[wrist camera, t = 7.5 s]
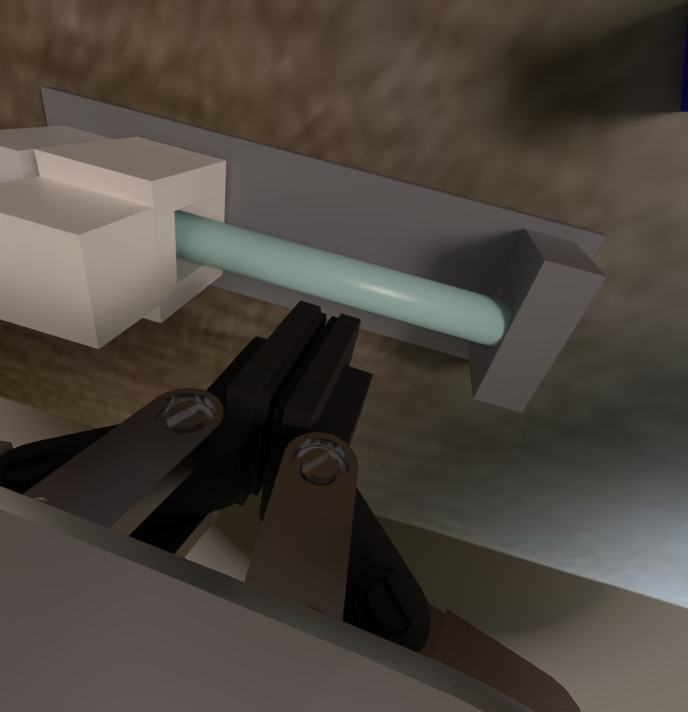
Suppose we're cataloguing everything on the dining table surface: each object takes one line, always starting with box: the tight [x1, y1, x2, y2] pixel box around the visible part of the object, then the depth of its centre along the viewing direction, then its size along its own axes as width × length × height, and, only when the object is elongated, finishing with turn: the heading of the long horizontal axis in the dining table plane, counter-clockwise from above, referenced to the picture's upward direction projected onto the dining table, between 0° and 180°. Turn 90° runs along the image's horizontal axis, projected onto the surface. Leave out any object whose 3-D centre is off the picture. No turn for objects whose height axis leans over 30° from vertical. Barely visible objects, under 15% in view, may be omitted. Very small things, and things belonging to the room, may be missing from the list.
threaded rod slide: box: [0, 86, 607, 413], centre depth 16 cm, size 24×7×5 cm, turn 78°
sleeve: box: [0, 137, 226, 349], centre depth 15 cm, size 4×5×8 cm
